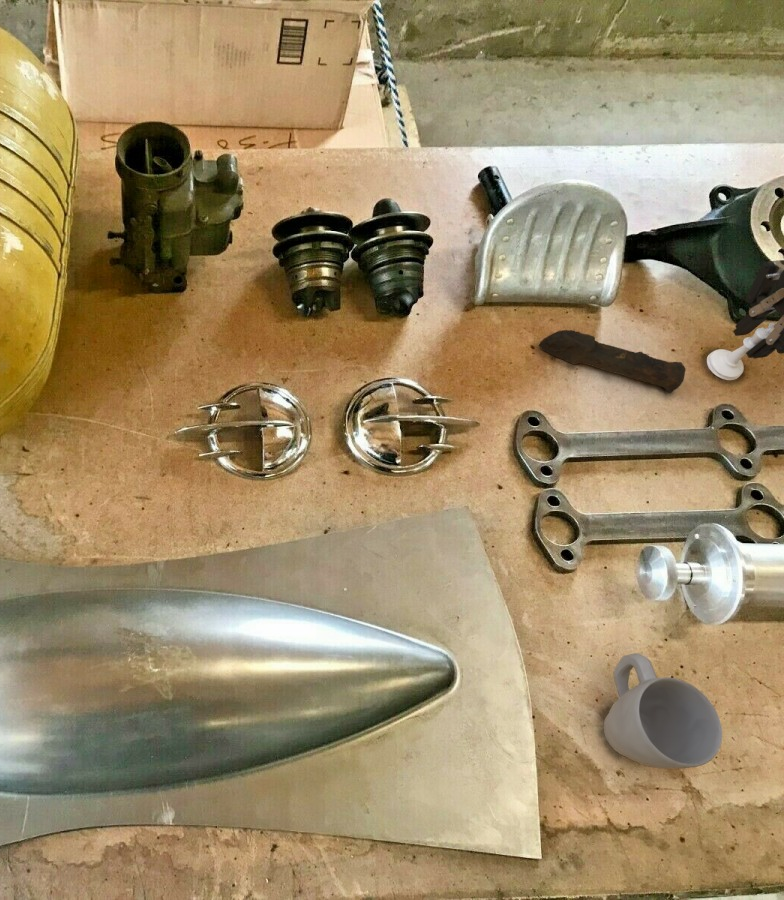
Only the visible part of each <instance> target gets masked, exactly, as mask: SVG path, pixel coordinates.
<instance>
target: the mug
mask: <svg viewBox="0 0 784 900" xmlns="http://www.w3.org/2000/svg"><path fill="white" fill-rule="evenodd" d="M633 669H634V670H635V674H636V676H637V680H638V684H637V685H635V686H634V687H632V688H630V685H629V681H630V680H629V679H630V673H631V671H632V670H633ZM613 681H614V685H615V689H616V693H617V695H618V698H617V700H616V701H615V702H614V703H613V705H611V707H610V710H609V711H608V713H607V715H606V716H605V718H604V721H603V733H604V736H605V739H606V741H607V742H608V745H610V747H611V748H612V749H613V750H614V751H615V752H616V753H618V754H619V755H621V756H623V757H626V758H627V759H630V760H631V761H633V762H635V763H637V764H640V765H642V766H647V767H650V768H656V769H665V770H684V769H685V770H686V769H692V768H696V767H701V766H704V765H706V764H708V763H709V762H711V761H712V760H714V758H715V757H716V756H717V754H718V753H719V751H720V748H721V746H722V742H723V741H722V740H723V728H722V723H721V720H720V717H719V714H718V712H717V709H716V708H715V706H714V705H713V703H712V702H711V700H709V698H708V697H707V696H706V695H705V694H704V693H703V692H702V691H701V690H699V689H698V688H697V687H696V686H694V685H693V684H691V683H689V682H687V681H685V680H682V679H680V678H675V677H670V676H669V677H658V676H657V673H656V670H655V668H654V666H653V663H652V661H651V660H650V659H649V658H648V657H647V656H645V655H643V654H641V653H636V652H635V653H630V654H626V655H623V656H622V657H621V658H620V659H619V660H618V662H617V664H616V666H615V668H614V670H613Z"/></svg>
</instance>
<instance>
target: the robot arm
mask: <svg viewBox="0 0 784 900" xmlns="http://www.w3.org/2000/svg"><path fill="white" fill-rule="evenodd" d="M745 302H746V303H747V304H750V309H749V310H748V313H747V314H746V315H745V316H744V317H743V318H741V319H740V320H739V321H738V322H736V324H735V326H734V327H735V329H733V330H732V333H733V334H734V336H735V337H740V336H746V335H749V334H750V333H752V332H753V331H754V330H756V329H757V328H759V326H760V325H761V324H763V323H764V322H766V321H767V320H768V318H767V316H769V315H770V316H771V315H772V314H774V313H775V312H778V314H779V319H778V321H777V322H775V325H774V329H773V330H772V332H771V333H770V334H769V336H768V337H767V338H765V339H763V340H761V341H760V342H759V343H758V344H756V345H755V346H754V347H753V348H751V349H750V350H749V351H748V352H746V354H745V356H746V357H747V358H748V359H763V358H765V357H766V358H767V357H768V356H770V355H771V354H772V353H774V352H775V351H776V352H777V354H780V355H782V354H784V259H779V260H776V259H775V260H769V261H764V262H763V263H762V265H761V267H760V269H759V271H758V272H757V275H756V277H755V279H754V280H753V282H752V285H751V286H750V288H749V290H748V292H747V294H746V296H745Z"/></svg>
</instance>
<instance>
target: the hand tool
mask: <svg viewBox="0 0 784 900" xmlns="http://www.w3.org/2000/svg"><path fill="white" fill-rule="evenodd" d="M538 346H539V348H540V349H541V350H543V351H544V352H546V353H548V354H550V355H552V356H553V357H556V358H558V359H561V360H564V361H566V362H567V363H570V364H572V365H577V364H584V365H588V366H592V367H594V368H597V369H599V370H604V371H606V372H608V373H613V374H618V375H622V376H624V377H627V378H630V379H633V380H637V381H639V382H644V383H647V384H650V385H655V386H659V387H661V388H664V390H665V393H666V394H672V393H673V392H674V391H675V390H677V389H678V388H679V387H681V385H682V384H683V382H684V380H685V375H686V371H687V368H686V366H685V365H684V364H683V362H682V361H666V360H664V359H660V358H655V357H652V356H650V355H648V354H647V353H644V352H643V351H636V352H635V351H632V350H627V349H625V348H621V347H617V346H614V345H609V344H606V343H603V342H599V341H597V340H596V337H595V336H594V335H591V334H587V333H582V332H580V331H576V330H572V329H569V330H568V329H564V330H558V331H556V332H554V333H551V334H549V335H548V336H545V337H544V338H543V339H542V340H541V341H540V342H539V343H538Z"/></svg>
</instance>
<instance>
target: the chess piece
mask: <svg viewBox="0 0 784 900" xmlns="http://www.w3.org/2000/svg"><path fill="white" fill-rule="evenodd" d="M775 324H776V322H770V323H769V324H768V326H767V327H757V328H756V329H755V331H754V333H753V335H752V336H748V337H747V336H746V337H744V339H742V341H743V342H742V343H743V345H741V346H740V347H738V348H736V349H735V350H733V351H730V350H728V349H723V348H720V349H715V350H713V351H712V352H710V353H709V354H708V355H707V357H706V365H707V367H708V369H709V370H710V372H711V373H712V374H713V375H714V376H716V377H717V378H720V379H722V380H725V381H734V380H737V379H739V377H740V376H742V374H743V373H744V369H745V368H744V367H745V366H744V363H743V360H742V359H743V357H745V356H746V352H748V351H749V350H750V349H751V348H753V347H754V346H755V345H756V344H758V343H759V342H760V341H761V340H763V339H765V338H767V337H768V336H769V334H770V333H771V332H772V331H773V330H774V329H775V328H774V325H775Z"/></svg>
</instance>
